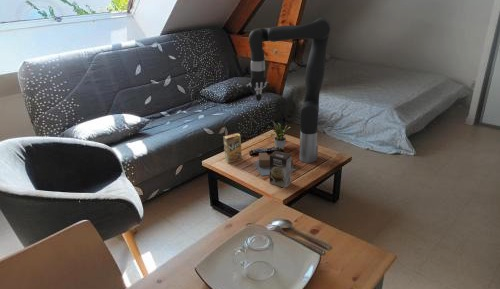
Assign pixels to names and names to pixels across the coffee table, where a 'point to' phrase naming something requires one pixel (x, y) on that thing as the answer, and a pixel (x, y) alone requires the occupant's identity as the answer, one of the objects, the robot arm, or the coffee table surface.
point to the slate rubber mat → (266, 169)
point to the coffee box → (280, 168)
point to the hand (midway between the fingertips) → (258, 100)
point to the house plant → (279, 136)
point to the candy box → (232, 147)
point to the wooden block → (266, 160)
